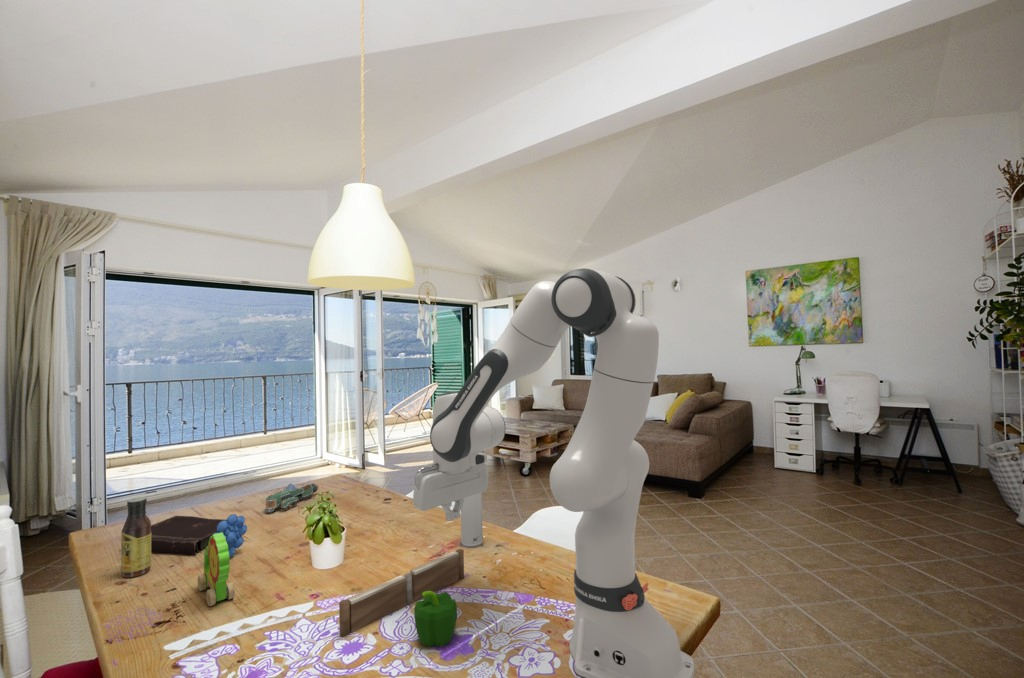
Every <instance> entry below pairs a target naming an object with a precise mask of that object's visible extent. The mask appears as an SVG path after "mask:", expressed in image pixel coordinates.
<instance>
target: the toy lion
mask: <svg viewBox="0 0 1024 678" xmlns="http://www.w3.org/2000/svg"><path fill="white" fill-rule="evenodd" d="M230 560H231V558H230V556H229V551H228V544H227V542H226V538H225V536H224V534H223V533H222V532H221V533H217V534H213V535H212V536H211V537H210V540H209V544H208V547H206V549H205V550H204V555H203V573H202V574H199V575H197V586H198V591H199V592H202V591H204V590H206V589H207V587H209V589H207V590H206V593H205V594H206V597H205V598H206V603H207V605H208V607H209V606H210V607H212V606H215V605H216V604H217V602H219V601H222V600H223V601H224V600H225V599H228V601H229V600H231V599H233V598H235V587H234V583H233V582H232V581H230V582H227V580H228V579H229V573H230V572H231V571H230V570H231V569H230V567H231V566H230Z"/></svg>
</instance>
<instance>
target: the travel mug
mask: <svg viewBox="0 0 1024 678" xmlns="http://www.w3.org/2000/svg"><path fill="white" fill-rule="evenodd" d="M482 494H483V492H481V493H478V494H475V495H472V496H469V497H466V498H464V503H463V505H462V508H461V510H460V529H461V530H460V536H461V537H460V538H461V539H460V540H461V541H460V542H461V543H460V544H461V546H462V547H463V548H466V549H477V548H480V547H483V545H484V541H483V539H484V538H483V535H484V533H483V532H484V531H483V502H482V501H483V500H482V499H483V498H482Z"/></svg>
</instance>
